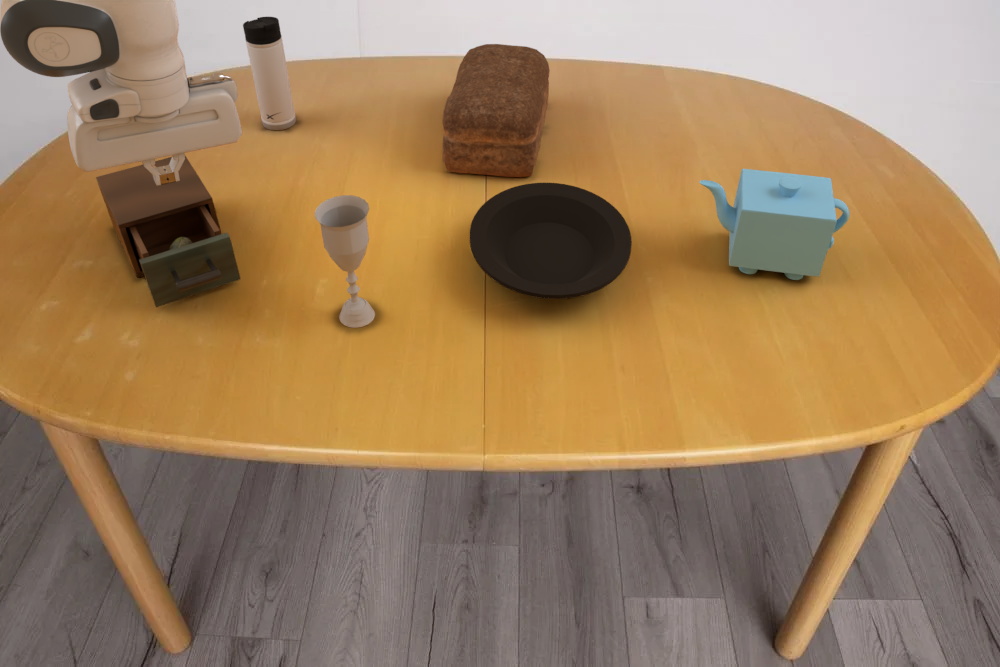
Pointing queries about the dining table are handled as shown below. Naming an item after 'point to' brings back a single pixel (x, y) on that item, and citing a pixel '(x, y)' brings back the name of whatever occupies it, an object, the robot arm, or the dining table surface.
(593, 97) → the dining table surface
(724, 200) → the teapot
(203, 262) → the drawer
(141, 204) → the cabinet
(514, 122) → the bread
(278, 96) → the travel mug
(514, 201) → the plate
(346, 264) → the chalice
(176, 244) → the lime
